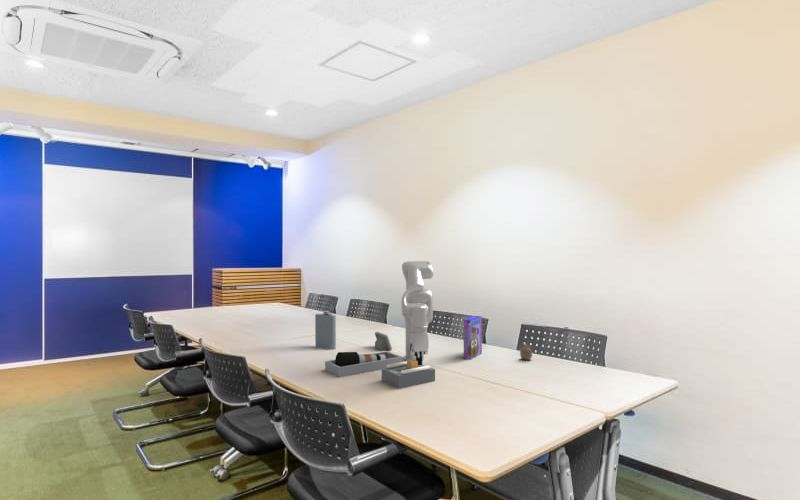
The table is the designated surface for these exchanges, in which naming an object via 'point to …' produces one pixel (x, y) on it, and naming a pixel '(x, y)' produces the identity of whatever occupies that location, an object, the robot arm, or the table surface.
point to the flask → (325, 330)
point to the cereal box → (472, 337)
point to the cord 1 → (396, 365)
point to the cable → (356, 358)
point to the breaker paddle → (412, 364)
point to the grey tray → (362, 365)
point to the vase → (526, 353)
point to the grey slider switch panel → (407, 376)
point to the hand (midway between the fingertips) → (419, 364)
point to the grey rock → (382, 342)
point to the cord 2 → (415, 369)
